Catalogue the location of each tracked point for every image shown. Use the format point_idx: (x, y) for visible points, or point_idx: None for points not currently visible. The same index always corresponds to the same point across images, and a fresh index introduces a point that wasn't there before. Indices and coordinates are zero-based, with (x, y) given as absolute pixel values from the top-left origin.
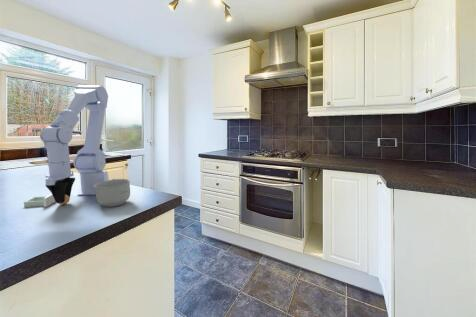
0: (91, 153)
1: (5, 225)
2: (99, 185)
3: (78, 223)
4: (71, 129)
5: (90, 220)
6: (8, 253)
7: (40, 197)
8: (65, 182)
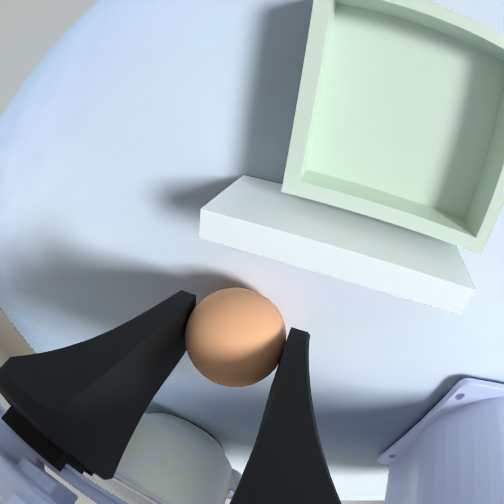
0: None
1: (11, 103)
2: (164, 495)
3: (37, 321)
4: None
5: (54, 346)
6: None
7: None
8: (97, 474)
